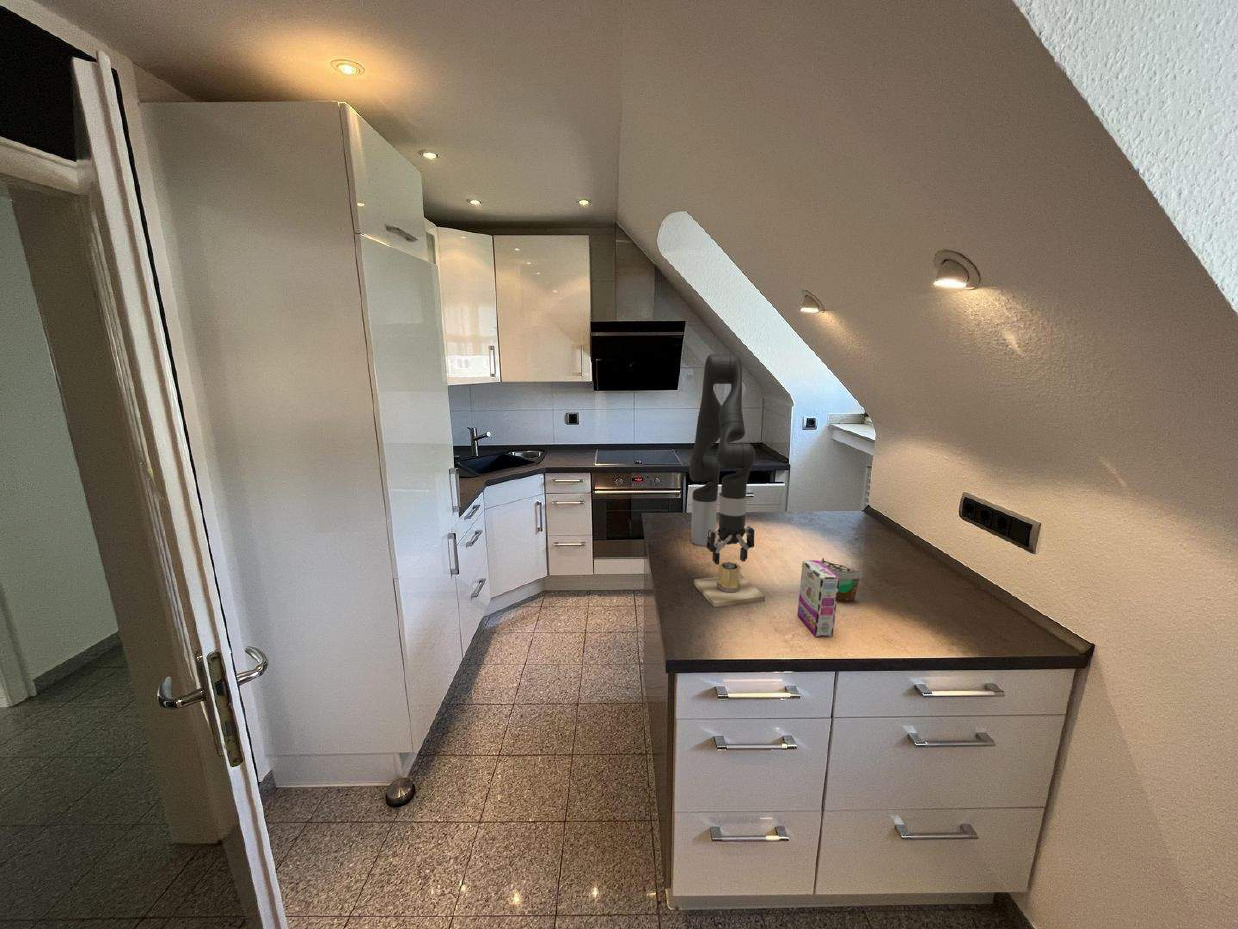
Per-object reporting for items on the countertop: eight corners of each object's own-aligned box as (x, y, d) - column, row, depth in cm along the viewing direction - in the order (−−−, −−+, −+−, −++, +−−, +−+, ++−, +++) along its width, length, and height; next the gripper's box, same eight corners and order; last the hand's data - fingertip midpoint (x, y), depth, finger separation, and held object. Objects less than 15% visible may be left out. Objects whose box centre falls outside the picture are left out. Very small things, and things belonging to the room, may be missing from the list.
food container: (808, 593, 146) (811, 562, 144) (819, 587, 150) (822, 556, 148) (849, 609, 137) (853, 576, 135) (859, 602, 141) (863, 570, 139)
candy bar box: (834, 637, 123) (840, 578, 120) (815, 638, 123) (821, 578, 119) (814, 614, 134) (819, 559, 131) (796, 614, 134) (801, 559, 130)
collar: (715, 581, 148) (716, 563, 147) (733, 579, 150) (734, 561, 148) (724, 590, 143) (725, 571, 141) (742, 587, 144) (743, 569, 143)
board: (693, 583, 152) (694, 579, 151) (740, 578, 156) (740, 574, 155) (714, 607, 138) (714, 602, 137) (764, 601, 141) (765, 596, 141)
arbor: (712, 583, 149) (713, 559, 147) (733, 581, 150) (734, 556, 149) (722, 594, 142) (724, 568, 140) (744, 591, 144) (746, 566, 142)
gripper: (748, 504, 146) (745, 554, 150) (704, 508, 143) (702, 559, 146) (761, 512, 139) (757, 565, 143) (715, 516, 136) (712, 570, 139)
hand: (729, 562), depth 145 cm, fingers open, 8 cm apart
